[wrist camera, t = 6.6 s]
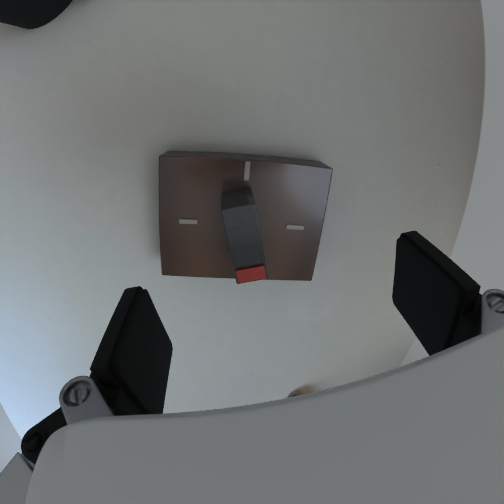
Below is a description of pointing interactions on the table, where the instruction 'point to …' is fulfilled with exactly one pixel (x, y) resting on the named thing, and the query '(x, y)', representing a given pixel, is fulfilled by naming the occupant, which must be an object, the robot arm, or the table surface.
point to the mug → (30, 12)
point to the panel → (267, 202)
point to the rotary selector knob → (243, 235)
